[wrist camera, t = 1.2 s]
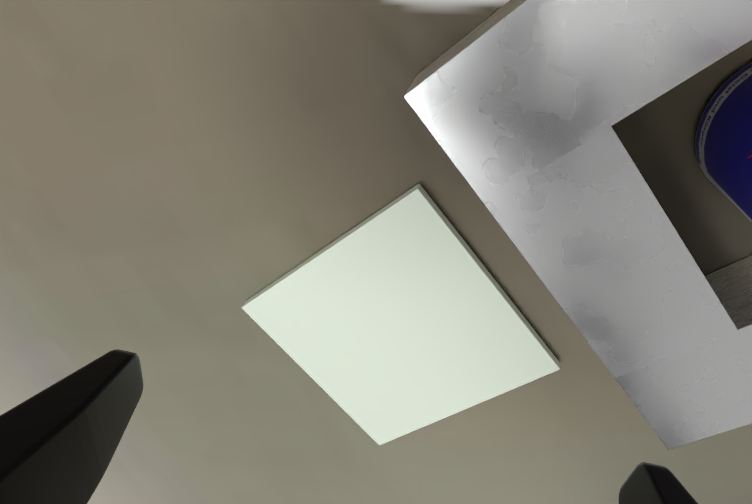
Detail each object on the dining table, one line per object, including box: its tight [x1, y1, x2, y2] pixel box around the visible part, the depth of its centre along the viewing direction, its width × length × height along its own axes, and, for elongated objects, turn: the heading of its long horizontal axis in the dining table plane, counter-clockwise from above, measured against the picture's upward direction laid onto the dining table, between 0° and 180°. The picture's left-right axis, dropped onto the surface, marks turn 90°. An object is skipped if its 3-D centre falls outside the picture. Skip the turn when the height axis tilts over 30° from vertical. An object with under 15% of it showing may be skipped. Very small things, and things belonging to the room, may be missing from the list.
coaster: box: [242, 184, 560, 445], centre depth 25 cm, size 11×11×1 cm
